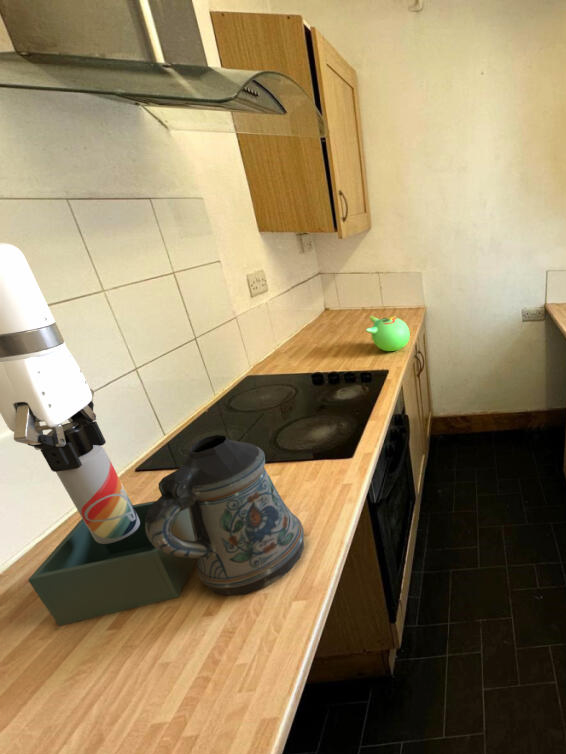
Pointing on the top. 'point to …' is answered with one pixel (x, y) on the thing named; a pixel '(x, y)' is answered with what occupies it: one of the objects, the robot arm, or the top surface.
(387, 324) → the green space hopper
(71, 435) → the lotion bottle
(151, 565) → the bin
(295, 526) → the beer stein
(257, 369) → the top surface
